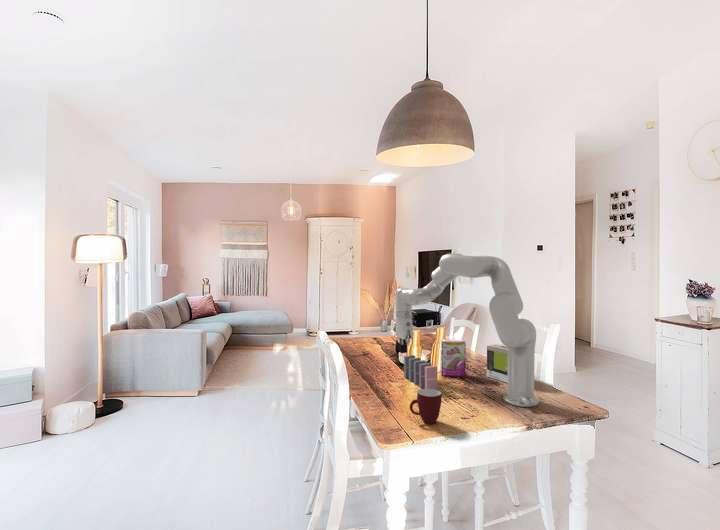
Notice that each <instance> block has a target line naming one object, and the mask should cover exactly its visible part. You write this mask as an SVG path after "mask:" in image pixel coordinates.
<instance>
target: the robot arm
mask: <svg viewBox="0 0 720 530" xmlns="http://www.w3.org/2000/svg"><path fill="white" fill-rule="evenodd" d="M512 274H513V273H512V272H511V269H510V267H509V265H508V264H507V262H506V261H505V260H503V259H502V258H499V257H496V256H491V255H490V256H488V255H475V256H474V255H463V254H462V253H446V254H444V255H442V256H441V257H440V259H439V262H438V267H436V269H434V270H433V271H432V272H431V281H430V282H429V283H427V284H426V286H424V287H422V288H421V287H420V288H414V289H413V288H408V287H407V288H405V287H399V288H397V289H396V290H395V329H394V330H395V336H396V337H397V339H398V343H399V353H400V354H407V353H408V345H409V344H408V343H411V341H410V340H412V339H413V338H414V329H413V325H414V324H413V319H412V311H413V308H412V307H413V306H415V307H416V306H421V305H427V304H430V303H431V302H433V301H434V300H436V299H437V297H439V296H440V295H441V294H442V293H443V291H444V290H445V288H446V287H447V286H448V285H449V284H450V283H452V282H453V281H455V279H457V278H458V277H466V278H471V279H472V278H475V279H476V278H477V279H478V278H483V277H484V278H485V277H489V278H490V281H491V286H492V287H491V288H492V290H493V293H494V296H493V297H491V299H490V301H489V303H488V304H489V305H488V306H489V307H488V308H489V309H488V310H489V313H490V316H491V319H492V322H493V324H494V327H495V331H496V334H497V335H498V338H499V340H500V342H501V344H504V345H505V346H507V347H508V383H507V393H505V394H504V395H503V397H502V398H503V399H502V400H503V401H504V402H505V403H507V404H509V405H513V406H517V407H521V408H523V407H525V408H530V407H536V406H538V405H539V403H540V402H539V401H540V400H539V399H538V398H537V397H536V396H535V353H536V342H537V329H536V326H535V325H534V323H533V322H531V321H530V319H529V320H528V319H525V318H520V317H519V314H521V313H522V311H523V310H524V302H523V300H522V296H521V294H520V293H519V290H518V286H517V285H516V282H515V279H514V277H513V275H512Z"/></svg>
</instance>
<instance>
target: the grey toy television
mask: <svg viewBox="0 0 720 530" xmlns="http://www.w3.org/2000/svg"><path fill="white" fill-rule="evenodd" d="M486 376H487V377H488V378H490V379H495V380H497V381H501V382H504V383H506V384H508V347H507V346H505V345H504V344H503V343H497V344H490V345H489V344H488V345H486Z"/></svg>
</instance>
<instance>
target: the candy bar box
mask: <svg viewBox="0 0 720 530" xmlns="http://www.w3.org/2000/svg"><path fill="white" fill-rule="evenodd" d="M466 346H467V344H466V340H463V339H440V375H441V377H464V376H465V377H466V350H467V349H466Z"/></svg>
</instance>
